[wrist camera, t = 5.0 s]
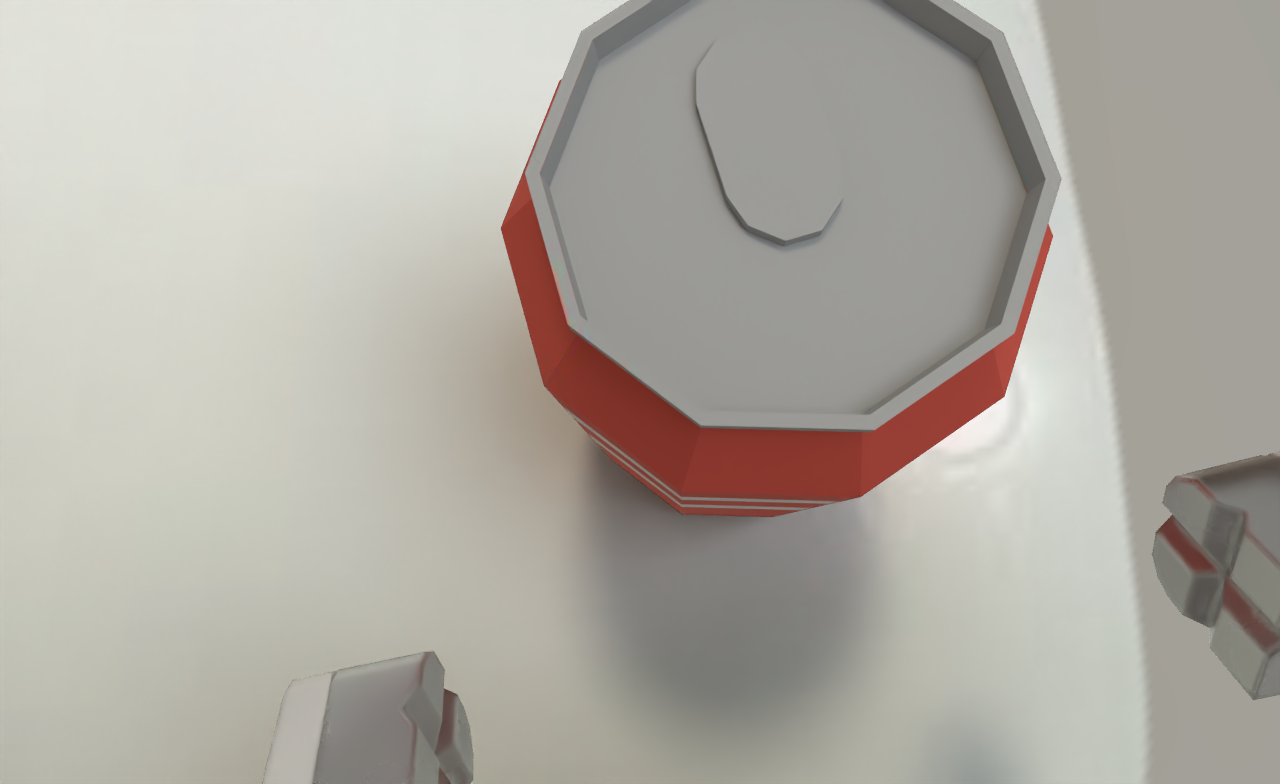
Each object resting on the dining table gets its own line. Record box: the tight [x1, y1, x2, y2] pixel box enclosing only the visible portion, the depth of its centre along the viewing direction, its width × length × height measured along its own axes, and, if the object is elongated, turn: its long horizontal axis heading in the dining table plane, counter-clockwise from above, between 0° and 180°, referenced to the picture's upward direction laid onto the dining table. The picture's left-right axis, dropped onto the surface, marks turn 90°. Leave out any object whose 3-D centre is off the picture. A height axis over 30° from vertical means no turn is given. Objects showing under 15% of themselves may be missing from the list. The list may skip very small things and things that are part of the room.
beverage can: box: [501, 0, 1061, 517], centre depth 15 cm, size 6×6×12 cm
